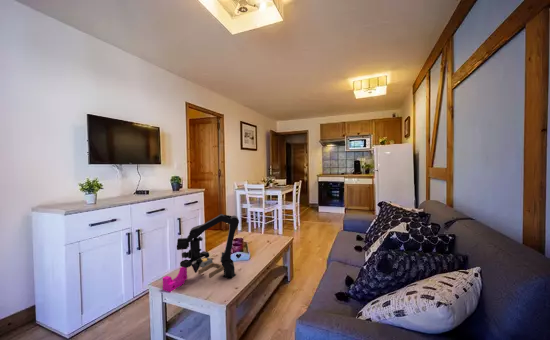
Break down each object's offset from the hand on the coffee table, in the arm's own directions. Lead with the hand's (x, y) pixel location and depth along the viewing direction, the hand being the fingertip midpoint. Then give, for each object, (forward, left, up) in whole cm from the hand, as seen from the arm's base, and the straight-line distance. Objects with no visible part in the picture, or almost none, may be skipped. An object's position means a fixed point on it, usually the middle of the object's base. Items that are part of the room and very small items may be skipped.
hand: (195, 272), depth 140 cm
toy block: (+7, +9, -6) cm, 12 cm away
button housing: (+13, -19, -5) cm, 24 cm away
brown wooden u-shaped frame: (0, -10, -5) cm, 12 cm away
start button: (+13, -19, -4) cm, 24 cm away
